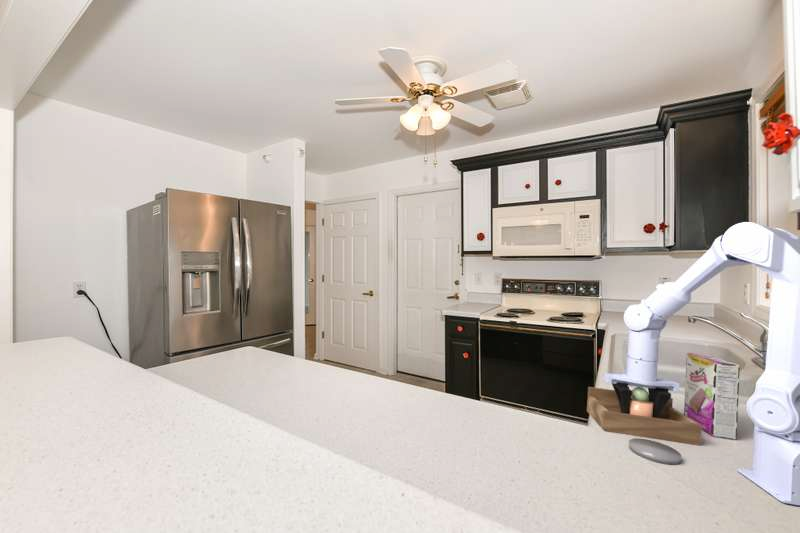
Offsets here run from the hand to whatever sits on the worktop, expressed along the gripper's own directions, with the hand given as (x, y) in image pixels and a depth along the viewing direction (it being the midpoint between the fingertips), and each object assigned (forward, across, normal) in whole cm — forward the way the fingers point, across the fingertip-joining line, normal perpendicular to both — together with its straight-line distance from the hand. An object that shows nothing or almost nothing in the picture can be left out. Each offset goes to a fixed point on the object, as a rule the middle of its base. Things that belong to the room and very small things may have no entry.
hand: (638, 419), depth 80 cm
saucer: (+2, +3, +14) cm, 14 cm away
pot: (+2, 0, 0) cm, 2 cm away
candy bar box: (+2, -17, -6) cm, 18 cm away
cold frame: (+2, 0, 0) cm, 2 cm away
